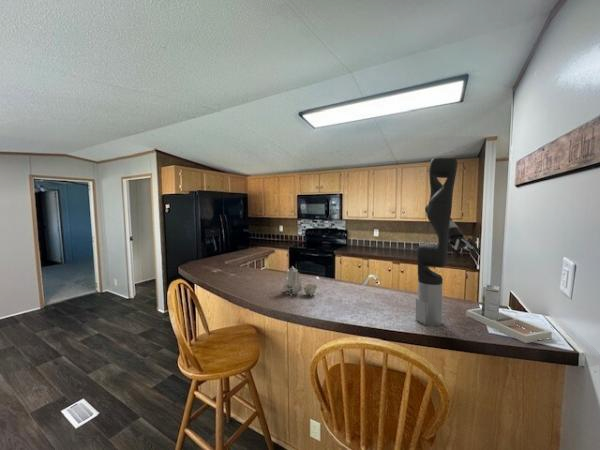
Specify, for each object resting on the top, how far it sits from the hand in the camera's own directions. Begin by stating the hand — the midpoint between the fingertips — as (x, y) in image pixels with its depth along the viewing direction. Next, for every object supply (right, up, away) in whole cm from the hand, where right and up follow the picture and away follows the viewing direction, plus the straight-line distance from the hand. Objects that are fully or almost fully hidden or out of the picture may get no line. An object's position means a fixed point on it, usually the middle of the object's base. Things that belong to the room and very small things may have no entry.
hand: (468, 257), depth 120 cm
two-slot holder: (+4, -26, -17) cm, 31 cm away
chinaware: (-81, -25, +31) cm, 90 cm away
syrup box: (+2, -26, -11) cm, 28 cm away
